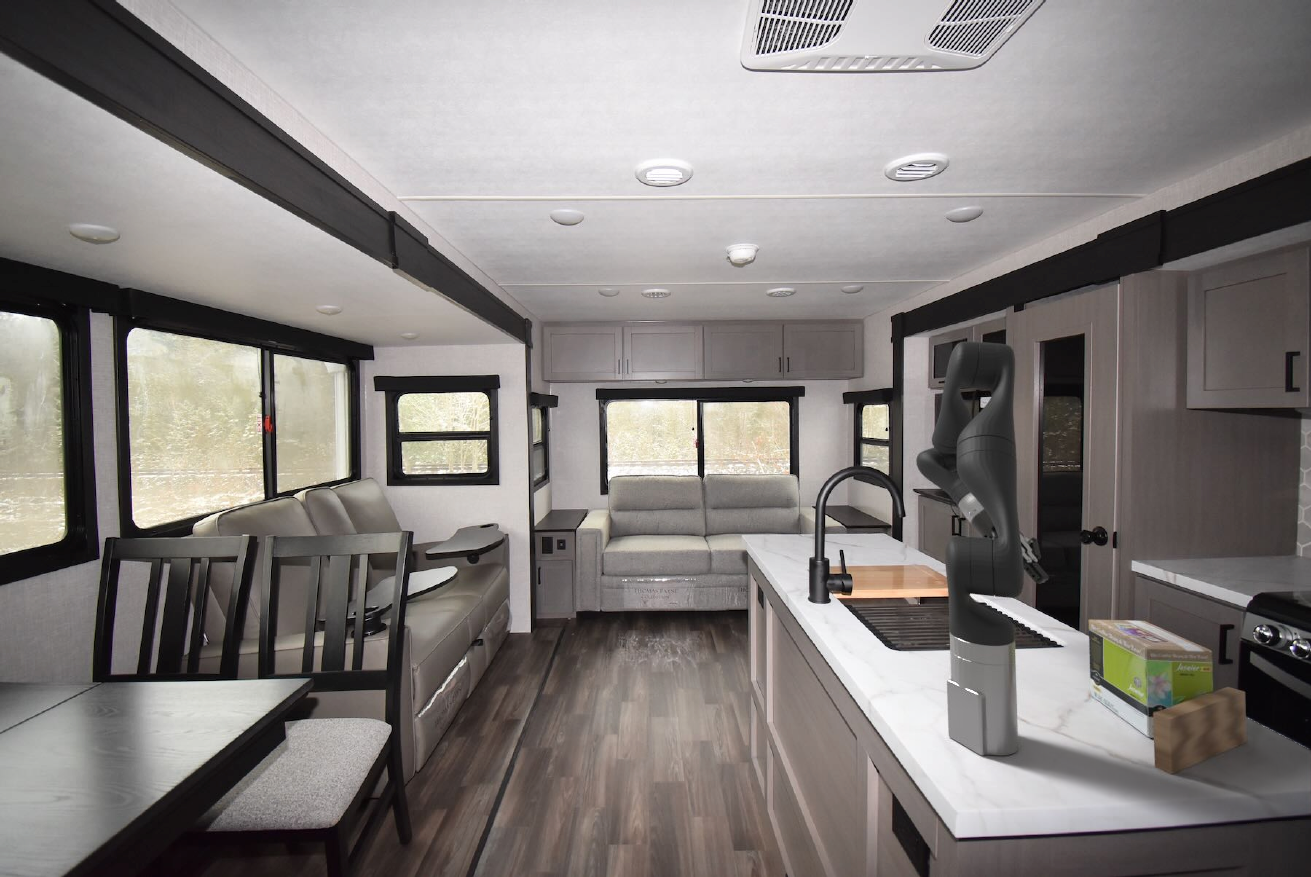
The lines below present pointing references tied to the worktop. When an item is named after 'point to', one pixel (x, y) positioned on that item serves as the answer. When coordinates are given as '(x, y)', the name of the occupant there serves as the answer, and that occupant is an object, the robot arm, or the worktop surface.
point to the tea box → (1145, 669)
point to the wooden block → (1199, 729)
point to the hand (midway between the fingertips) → (1043, 581)
